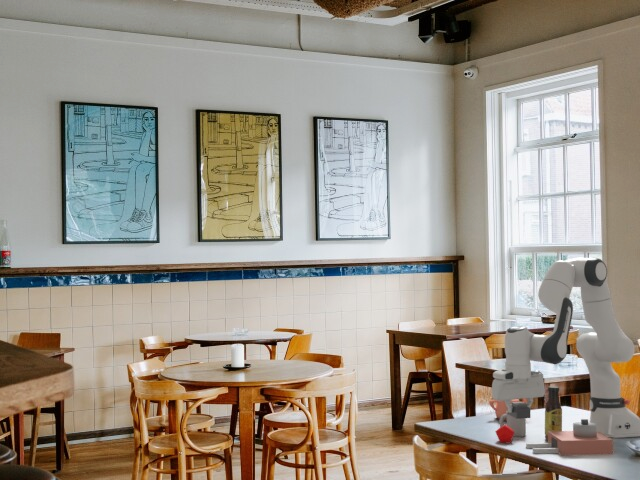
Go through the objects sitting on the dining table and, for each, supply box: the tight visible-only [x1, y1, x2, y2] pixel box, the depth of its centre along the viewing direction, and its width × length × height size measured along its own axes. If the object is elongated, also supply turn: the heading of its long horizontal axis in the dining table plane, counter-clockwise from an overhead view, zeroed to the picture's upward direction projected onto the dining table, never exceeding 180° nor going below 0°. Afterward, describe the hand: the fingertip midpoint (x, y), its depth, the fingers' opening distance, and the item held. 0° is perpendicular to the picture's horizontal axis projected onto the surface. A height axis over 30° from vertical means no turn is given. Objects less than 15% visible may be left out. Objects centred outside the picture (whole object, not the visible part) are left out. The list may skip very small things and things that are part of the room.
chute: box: [507, 401, 532, 419], centre depth 290 cm, size 9×5×5 cm, turn 8°
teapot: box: [488, 398, 528, 422], centre depth 351 cm, size 12×18×10 cm, turn 90°
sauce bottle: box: [544, 385, 563, 441], centre depth 310 cm, size 7×6×20 cm
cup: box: [498, 412, 527, 438], centre depth 319 cm, size 7×10×9 cm
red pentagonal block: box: [495, 424, 514, 444], centre depth 307 cm, size 7×7×8 cm
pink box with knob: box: [525, 418, 614, 456], centre depth 292 cm, size 27×16×11 cm, turn 92°
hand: (519, 411), depth 290 cm, fingers closed on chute, 5 cm apart
